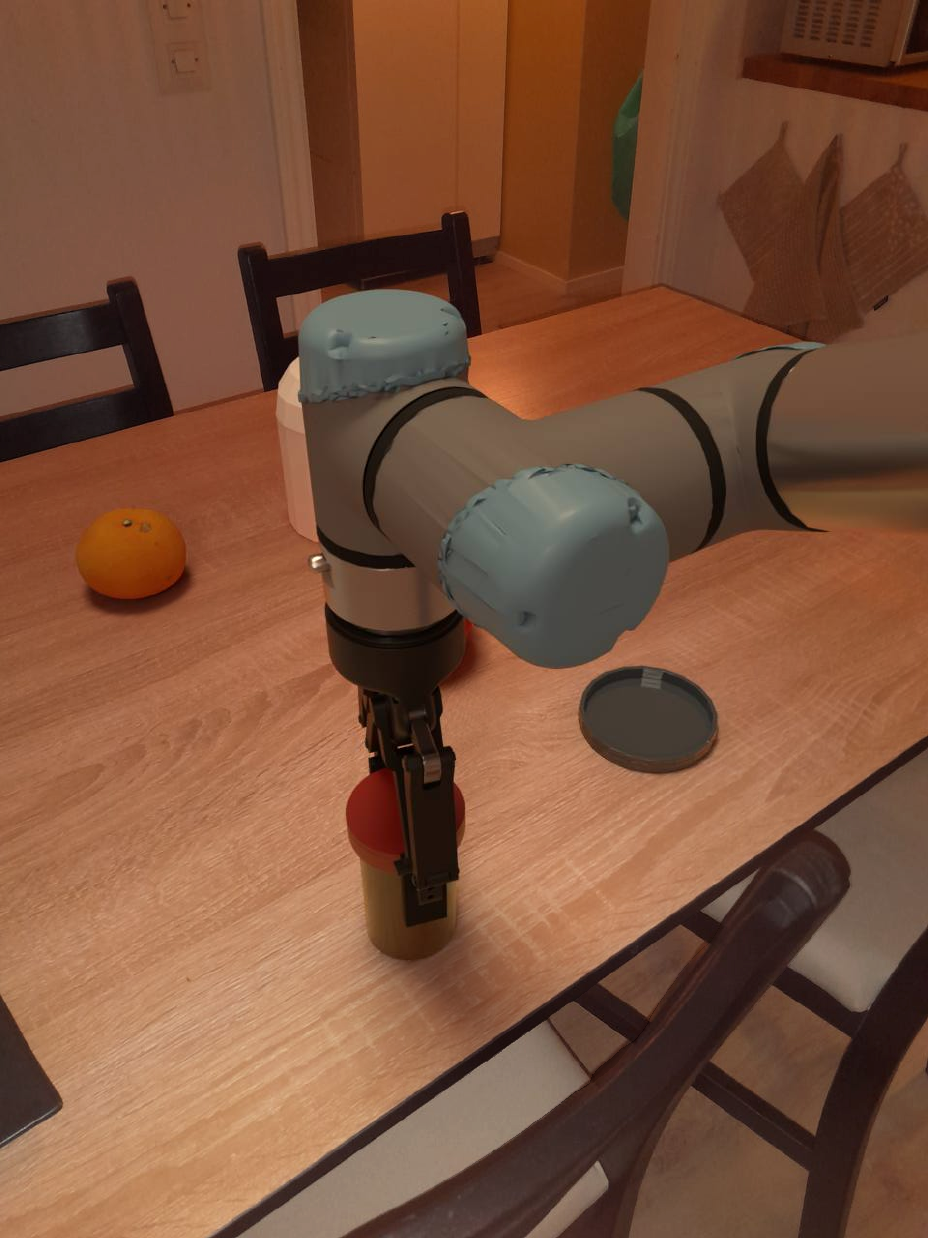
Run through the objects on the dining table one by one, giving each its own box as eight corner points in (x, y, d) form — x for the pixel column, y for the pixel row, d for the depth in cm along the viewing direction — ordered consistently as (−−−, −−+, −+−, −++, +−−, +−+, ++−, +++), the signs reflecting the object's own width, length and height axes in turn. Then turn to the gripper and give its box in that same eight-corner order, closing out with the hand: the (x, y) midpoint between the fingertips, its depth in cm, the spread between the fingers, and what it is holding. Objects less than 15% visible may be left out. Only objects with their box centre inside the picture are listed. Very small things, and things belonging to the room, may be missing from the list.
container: (395, 549, 106) (387, 378, 94) (275, 542, 107) (252, 372, 95) (412, 487, 116) (407, 325, 104) (303, 481, 117) (285, 320, 105)
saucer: (742, 749, 82) (745, 736, 81) (621, 789, 79) (623, 776, 78) (667, 665, 91) (669, 653, 90) (555, 698, 87) (556, 685, 86)
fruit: (157, 623, 96) (141, 556, 91) (66, 603, 98) (45, 537, 93) (210, 565, 103) (198, 501, 98) (124, 548, 106) (108, 485, 101)
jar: (474, 923, 69) (476, 816, 62) (405, 978, 65) (399, 872, 58) (416, 868, 72) (411, 762, 65) (348, 918, 69) (335, 811, 62)
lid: (420, 765, 67) (419, 747, 66) (488, 835, 62) (489, 816, 61) (325, 817, 63) (323, 799, 62) (390, 895, 58) (389, 877, 57)
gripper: (291, 509, 58) (324, 772, 72) (370, 743, 42) (392, 1019, 57) (412, 490, 60) (421, 750, 74) (530, 708, 44) (512, 984, 58)
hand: (408, 867), depth 65 cm, fingers closed on lid, 8 cm apart
